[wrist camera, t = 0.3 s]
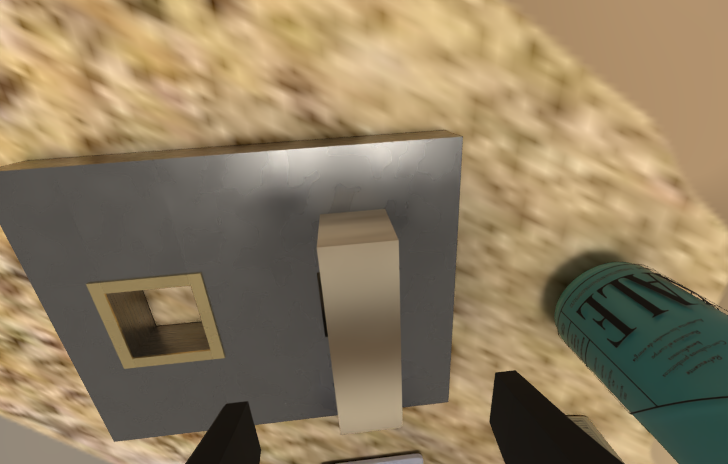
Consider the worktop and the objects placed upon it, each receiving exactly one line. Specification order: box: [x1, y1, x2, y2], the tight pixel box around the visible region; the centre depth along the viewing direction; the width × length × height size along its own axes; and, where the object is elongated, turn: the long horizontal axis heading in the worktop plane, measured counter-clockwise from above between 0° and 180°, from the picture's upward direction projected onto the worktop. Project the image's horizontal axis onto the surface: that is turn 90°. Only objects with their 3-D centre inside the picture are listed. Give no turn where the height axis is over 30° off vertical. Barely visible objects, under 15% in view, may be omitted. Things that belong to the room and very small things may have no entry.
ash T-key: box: [317, 209, 403, 435], centre depth 17 cm, size 10×3×6 cm, turn 3°
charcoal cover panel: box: [0, 130, 463, 442], centre depth 18 cm, size 16×20×3 cm
